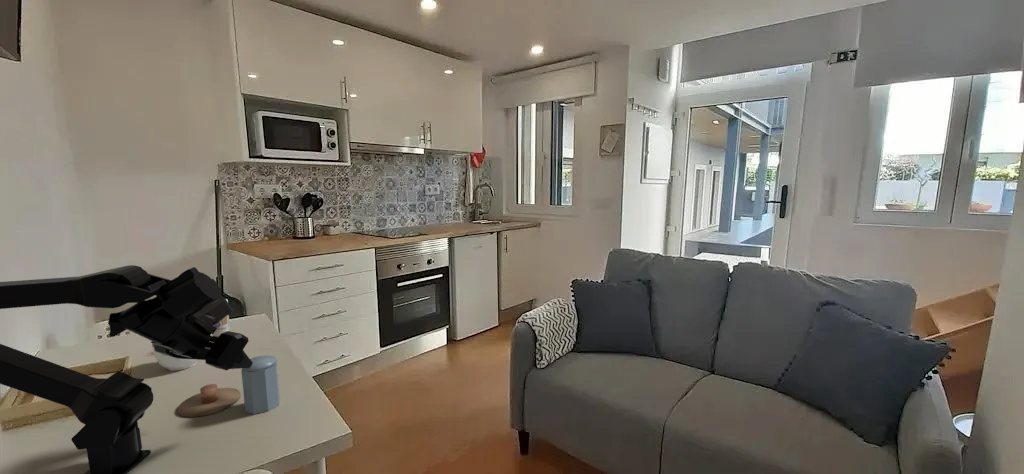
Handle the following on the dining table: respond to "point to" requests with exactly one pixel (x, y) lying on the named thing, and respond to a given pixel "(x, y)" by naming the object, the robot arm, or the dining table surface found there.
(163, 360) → the lidded jar
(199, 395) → the brown pegged disc
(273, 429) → the dining table surface
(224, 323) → the sprinkles bottle
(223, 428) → the dining table surface
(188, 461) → the dining table surface
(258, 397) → the blue dome cap nut
